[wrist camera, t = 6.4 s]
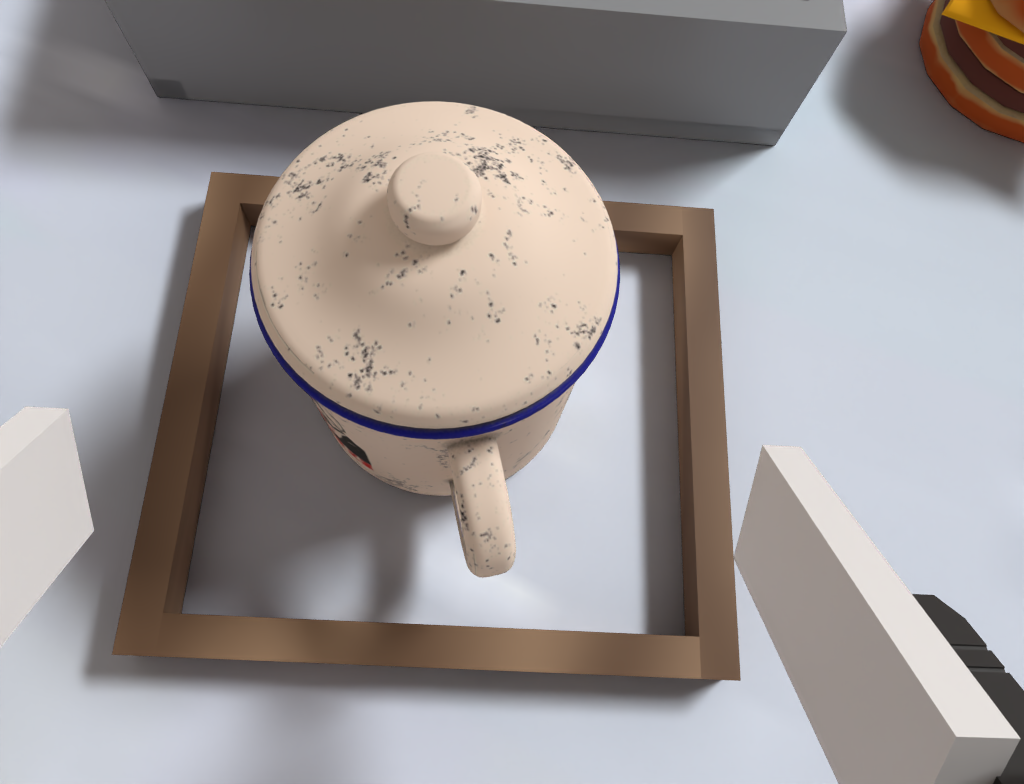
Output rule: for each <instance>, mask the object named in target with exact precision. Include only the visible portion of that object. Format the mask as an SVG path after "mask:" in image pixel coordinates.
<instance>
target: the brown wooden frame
mask: <svg viewBox="0 0 1024 784" xmlns="http://www.w3.org/2000/svg"><path fill="white" fill-rule="evenodd" d="M279 178H280V177H275V176H261V175H248V174H234V173H221V172H211V177H210V182H209V186H208V191H207V196H206V201H205V206H204V211H203V216H202V220H201V225H200V230H199V235H198V240H197V245H196V250H195V254H194V259H193V264H192V269H191V274H190V279H189V283H188V288H187V293H186V298H185V303H184V308H183V313H182V317H181V322H180V327H179V332H178V337H177V342H176V346H175V351H174V356H173V361H172V366H171V371H170V376H169V380H168V385H167V390H166V395H165V400H164V405H163V409H162V414H161V419H160V424H159V429H158V434H157V439H156V443H155V448H154V453H153V458H152V463H151V468H150V473H149V477H148V482H147V487H146V492H145V497H144V502H143V506H142V511H141V516H140V521H139V526H138V531H137V536H136V540H135V545H134V550H133V555H132V560H131V565H130V569H129V574H128V579H127V584H126V589H125V594H124V599H123V603H122V608H121V613H120V618H119V623H118V628H117V632H116V637H115V642H114V647H113V652H112V655H134V656H158V657H183V658H207V659H231V660H255V661H279V662H303V663H328V664H352V665H376V666H400V667H424V668H448V669H473V670H497V671H521V672H545V673H569V674H593V675H618V676H642V677H666V678H690V679H714V680H738V681H741V680H740V663H739V645H738V628H737V610H736V593H735V575H734V558H733V540H732V523H731V505H730V488H729V470H728V453H727V435H726V418H725V401H724V383H723V366H722V348H721V331H720V313H719V296H718V278H717V261H716V243H715V226H714V209H706V208H692V207H679V206H665V205H652V204H638V203H625V202H611V201H603V204H604V206H605V208H606V210H607V213H608V215H609V218H610V221H611V224H612V227H613V231H614V235H615V239H616V243H617V247H618V252H632V253H646V254H660V255H672V274H673V302H674V331H675V360H676V388H677V417H678V446H679V474H680V503H681V532H682V561H683V589H684V618H685V636H672V635H649V634H627V633H604V632H582V631H559V630H537V629H514V628H492V627H469V626H446V625H424V624H401V623H379V622H356V621H334V620H311V619H288V618H266V617H243V616H221V615H198V614H181V612H182V607H183V601H184V595H185V590H186V584H187V579H188V573H189V568H190V562H191V557H192V551H193V546H194V540H195V534H196V529H197V523H198V518H199V512H200V507H201V501H202V496H203V490H204V485H205V479H206V473H207V468H208V462H209V457H210V451H211V446H212V440H213V435H214V429H215V424H216V418H217V412H218V407H219V401H220V396H221V390H222V385H223V379H224V374H225V368H226V362H227V357H228V351H229V346H230V340H231V335H232V329H233V324H234V318H235V313H236V307H237V301H238V296H239V290H240V285H241V279H242V274H243V268H244V263H245V257H246V252H247V246H248V240H249V235H250V229H251V226H256V225H257V222H258V218H259V216H260V213H261V211H262V208H263V206H264V203H265V201H266V199H267V197H268V196H269V194H270V192H271V190H272V188H273V187H274V185H275V184H276V182H277V181H278V179H279Z"/></svg>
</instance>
